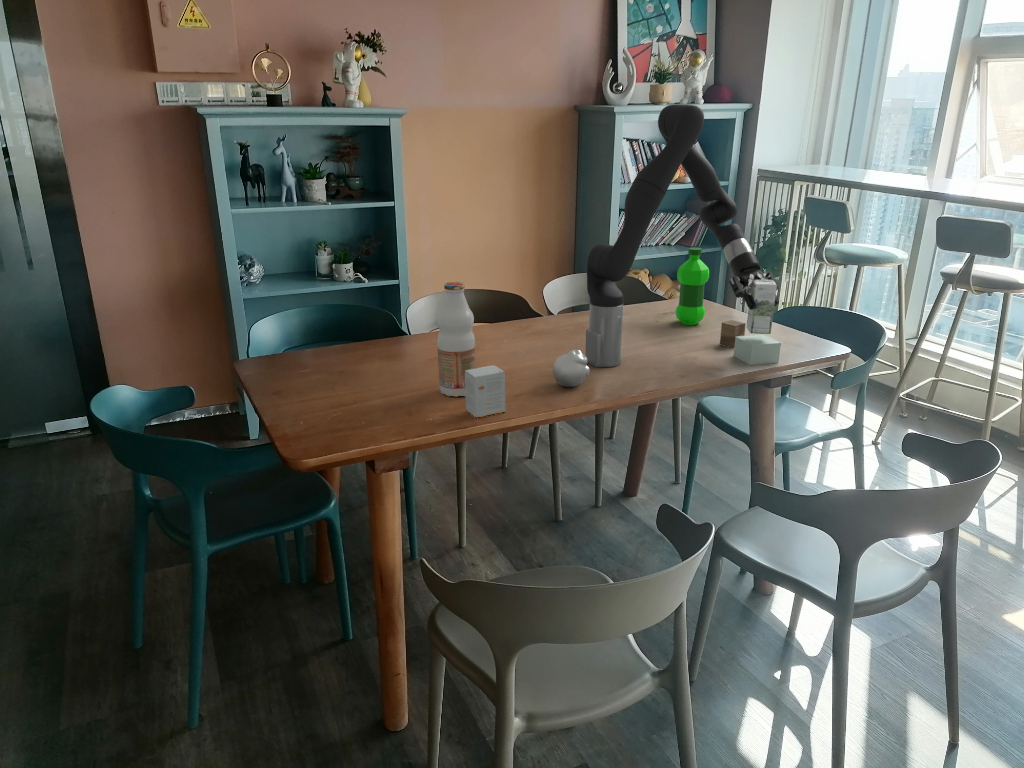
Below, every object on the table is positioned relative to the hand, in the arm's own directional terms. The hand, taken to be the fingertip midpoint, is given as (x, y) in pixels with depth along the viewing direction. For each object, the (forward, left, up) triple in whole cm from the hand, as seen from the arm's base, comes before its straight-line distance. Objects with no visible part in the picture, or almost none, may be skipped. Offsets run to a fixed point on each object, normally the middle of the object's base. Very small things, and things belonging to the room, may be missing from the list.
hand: (765, 306), depth 209 cm
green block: (0, +1, -16) cm, 16 cm away
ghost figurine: (-59, +4, -16) cm, 61 cm away
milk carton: (0, +2, -8) cm, 8 cm away
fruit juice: (-87, +13, -16) cm, 89 cm away
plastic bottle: (+7, +41, -16) cm, 45 cm away
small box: (-86, -3, -16) cm, 88 cm away
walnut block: (+3, +15, -16) cm, 22 cm away
